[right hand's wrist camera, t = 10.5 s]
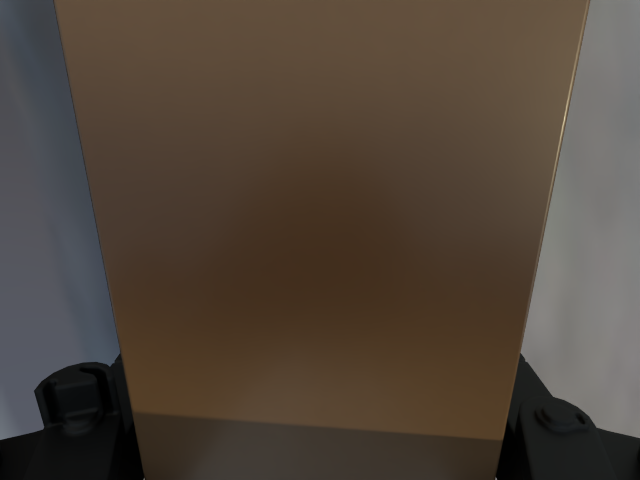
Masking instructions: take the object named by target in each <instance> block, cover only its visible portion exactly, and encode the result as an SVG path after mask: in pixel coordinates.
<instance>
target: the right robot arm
mask: <svg viewBox="0 0 640 480" xmlns="http://www.w3.org/2000/svg"><path fill="white" fill-rule="evenodd" d="M34 393H35V396H36V400H37V403H38V406H39V410H40V413H41V417H42V420H43V424H44V429H43V430H40V431H37V432H33V433H29V434H25V435H21V436H16V437H12V438H7V439H3V440H0V480H143V479H144V472H143V467H142V462H141V457H140V452H139V446H138V441H137V436H136V431H135V425H134V420H133V415H132V410H131V405H130V399H129V394H128V389H127V384H126V378H125V373H124V368H123V363H122V357H121V353H120V354H119V356H118V357H117V358H116V360H115V363H113V364H112V365H111V367H109V366H108V365H107V364H103V363H98V362H87V363H80V364H76V365H72V366H68V367H66V368H63V369H61V370H59V371H57V372H54V373H53V374H51V375H50V376H48V377H47V378H46V379H44V380H43V381H42V382H41V383H40V384H39V385H38V387H37V388H36V389H35V390H34ZM496 478H497V480H640V438H636V437H632V436H628V435H623V434H619V433H614V432H610V431H606V430H603V429H599V428H596V426H595V425H594V423H593V422H592V420H591V419H590V417H589V416H588V415H587V414H585V413H584V412H583V411H582V410H581V409H579V408H578V407H576V406H574V405H572V404H571V403H569V402H567V401H565V400H562V399H558V398H555V397H553V396H552V395H551V394H550V392H549V391H548V390H547V388H546V387H545V385H544V384H543V383H542V381H541V380H540V379H539V377H538V376H537V375H536V373H535V372H534V371H533V369H532V368H531V366H530V365H529V364H528V362H525V358H524V357H523V356H522V354H521V353H520V357H519V362H518V367H517V372H516V377H515V382H514V387H513V392H512V397H511V402H510V407H509V412H508V417H507V422H506V427H505V432H504V438H503V443H502V448H501V453H500V458H499V463H498V468H497V473H496Z"/></svg>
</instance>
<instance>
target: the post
mask: <svg viewBox="0 0 640 480" xmlns="http://www.w3.org/2000/svg"><path fill="white" fill-rule="evenodd" d="M53 2H54V7H55V12H56V18H57V23H58V28H59V33H60V39H61V44H62V49H63V54H64V59H65V65H66V70H67V75H68V80H69V86H70V91H71V96H72V101H73V106H74V112H75V117H76V122H77V127H78V133H79V138H80V143H81V148H82V154H83V159H84V164H85V169H86V174H87V180H88V185H89V190H90V195H91V201H92V206H93V211H94V216H95V222H96V227H97V232H98V237H99V242H100V248H101V253H102V258H103V263H104V269H105V274H106V279H107V284H108V289H109V295H110V300H111V305H112V310H113V316H114V321H115V326H116V331H117V337H118V342H119V347H120V352H121V357H122V363H123V368H124V373H125V378H126V384H127V389H128V394H129V399H130V405H131V410H132V415H133V420H134V425H135V431H136V436H137V441H138V446H139V452H140V457H141V462H142V467H143V472H144V478H145V480H495V478H496V473H497V468H498V463H499V458H500V453H501V448H502V443H503V438H504V432H505V427H506V422H507V417H508V412H509V407H510V402H511V397H512V392H513V387H514V382H515V377H516V372H517V367H518V362H519V357H520V352H521V347H522V342H523V337H524V332H525V327H526V322H527V317H528V312H529V307H530V301H531V296H532V291H533V286H534V281H535V276H536V271H537V266H538V261H539V256H540V251H541V246H542V241H543V236H544V231H545V226H546V221H547V216H548V211H549V206H550V201H551V196H552V191H553V186H554V181H555V175H556V170H557V165H558V160H559V155H560V150H561V145H562V140H563V135H564V130H565V125H566V120H567V115H568V110H569V105H570V100H571V95H572V90H573V85H574V80H575V75H576V70H577V65H578V60H579V55H580V49H581V44H582V39H583V34H584V29H585V24H586V19H587V14H588V9H589V4H590V0H53Z"/></svg>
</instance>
